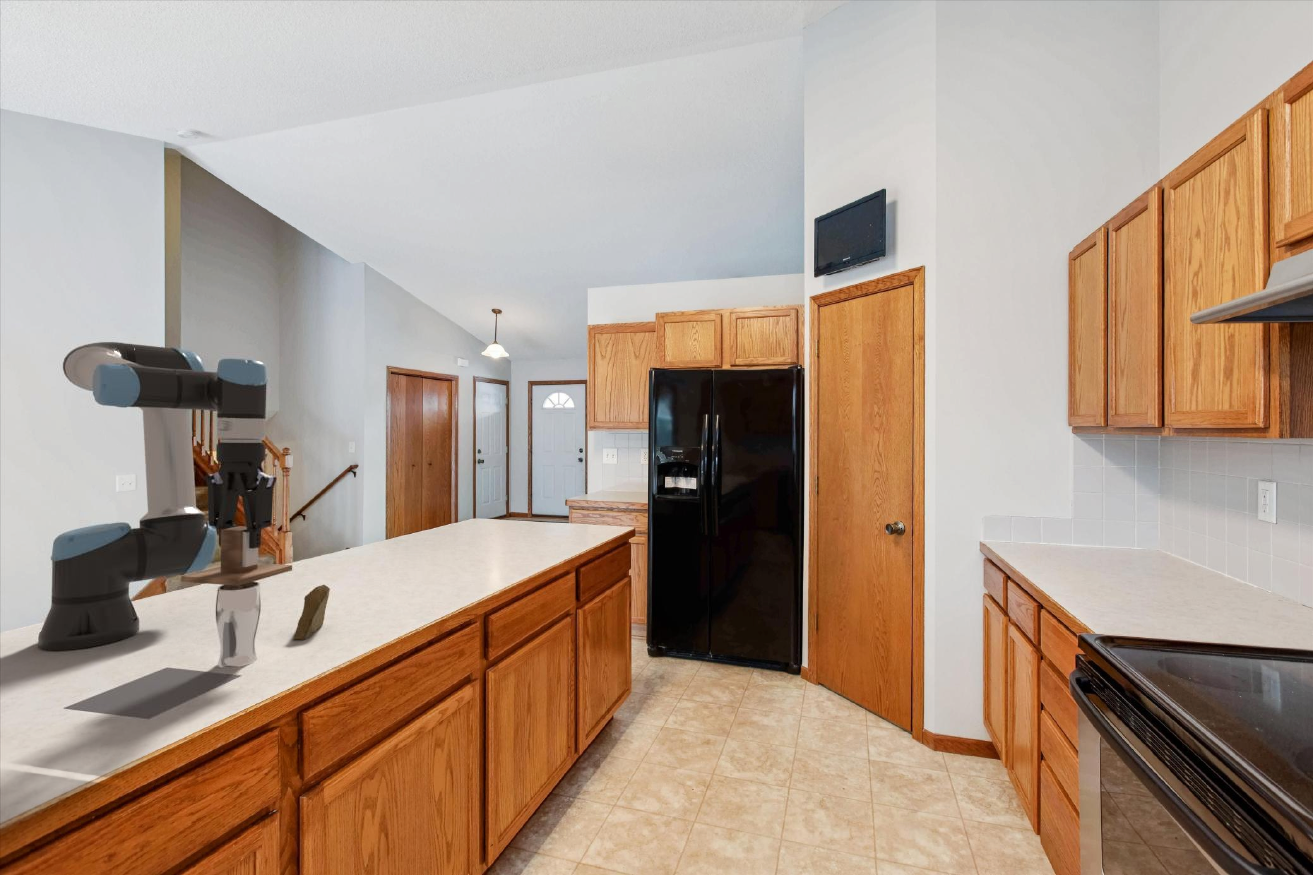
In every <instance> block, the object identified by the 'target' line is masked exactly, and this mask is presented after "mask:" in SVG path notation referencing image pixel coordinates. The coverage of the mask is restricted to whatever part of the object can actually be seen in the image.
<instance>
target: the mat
mask: <svg viewBox="0 0 1313 875" xmlns="http://www.w3.org/2000/svg"><path fill="white" fill-rule="evenodd" d="M239 677H242V675H241V674H231V673H225V672H223V673H222V672H214V671H205V670H204V671H202V670H197V669H196V670H194V669H185V668H177V667H164V668H162V669H159V670H157V671H154V672H151V673H149V674H147V675H144V676H142V677H139V678H136V679H134V680H131V681H128V682H127V683H126V682H125V683H124V684H121V685H118V686H116V687H113V688H111V689H109V690H106V691H103V692H101V693H98V694H96V695H94V696H91V697H88V698H85V699H83V700H81V701H77V702H75V703H73V704H70V705H68V706H65V707H64V710H65V709H66V710H67V709H68V710H74V711H75V710H76V711H83V712H91V713H98V714H104V715H105V714H106V715H112V716H121V717H122V716H123V717H131V718H136V719H137V718H138V719H146V720H150V719H152V718H154V717H156V716H158V715H161V714H163V713H164V712H167V711H168V710H169V711H170V710H171V709H173V708H176V707H177V706H179V705H182V704H185V703H186V702H189V701H190V700H193V699H195V698H197V697H199V696H201V695H204V694H205V693H207V692H210V691H211V690H212V691H213V690H214V689H216V688H218V687H221V686H223V685H224V684H227V683H229V682H231V681H234V680H235V679H238V678H239Z"/></svg>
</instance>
